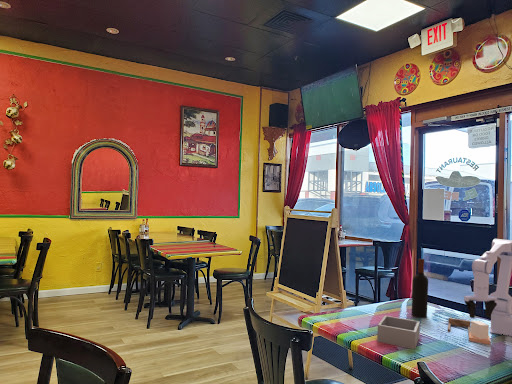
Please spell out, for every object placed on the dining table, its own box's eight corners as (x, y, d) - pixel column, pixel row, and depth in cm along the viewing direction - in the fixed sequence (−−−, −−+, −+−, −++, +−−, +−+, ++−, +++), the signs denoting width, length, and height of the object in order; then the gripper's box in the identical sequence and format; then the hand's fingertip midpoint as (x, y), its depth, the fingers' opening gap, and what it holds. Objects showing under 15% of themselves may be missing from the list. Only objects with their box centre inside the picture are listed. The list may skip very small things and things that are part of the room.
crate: (419, 337, 175) (419, 321, 175) (415, 349, 160) (415, 331, 160) (384, 330, 182) (384, 315, 182) (377, 341, 167) (377, 324, 167)
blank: (478, 334, 178) (479, 321, 179) (488, 339, 173) (488, 325, 173) (470, 334, 178) (471, 320, 178) (479, 339, 172) (480, 325, 172)
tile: (489, 339, 177) (489, 335, 177) (490, 344, 170) (490, 341, 170) (468, 335, 181) (468, 332, 181) (469, 340, 174) (469, 337, 174)
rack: (470, 327, 194) (470, 321, 194) (470, 335, 181) (471, 328, 181) (448, 323, 198) (448, 317, 198) (447, 331, 186) (447, 324, 186)
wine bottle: (412, 316, 207) (414, 259, 208) (410, 312, 215) (413, 257, 215) (427, 318, 205) (430, 260, 206) (426, 314, 212) (428, 258, 213)
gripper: (489, 285, 181) (488, 315, 180) (460, 284, 179) (459, 314, 179) (501, 288, 174) (500, 319, 173) (470, 288, 172) (469, 319, 172)
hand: (479, 317), depth 175 cm, fingers open, 7 cm apart
